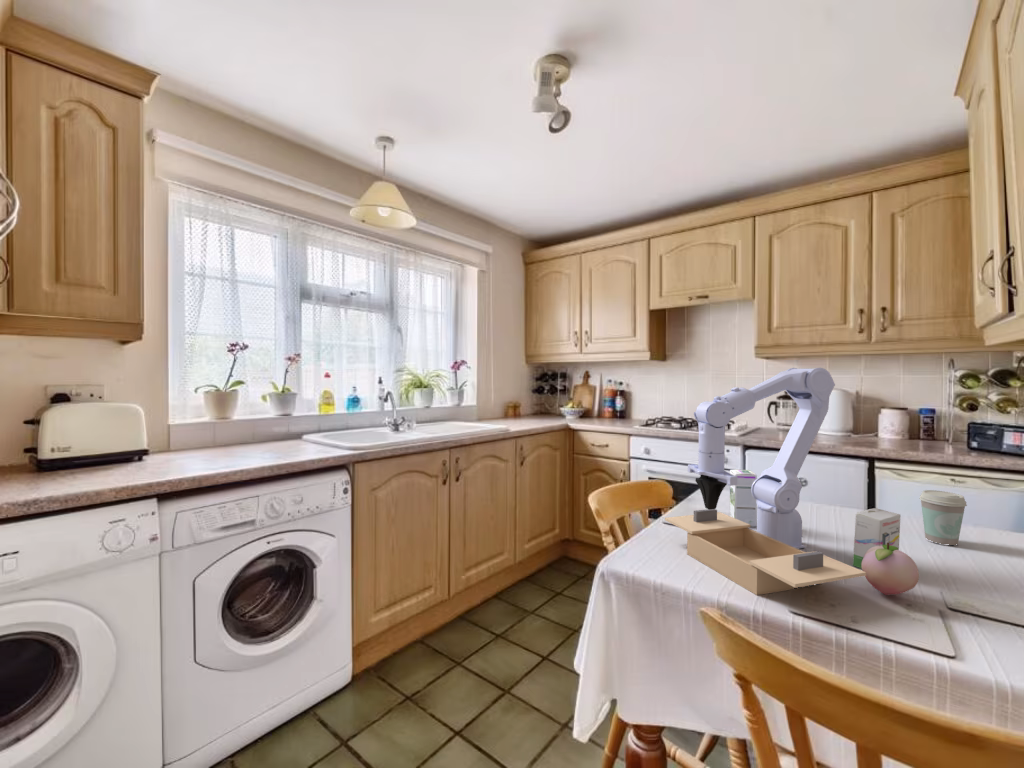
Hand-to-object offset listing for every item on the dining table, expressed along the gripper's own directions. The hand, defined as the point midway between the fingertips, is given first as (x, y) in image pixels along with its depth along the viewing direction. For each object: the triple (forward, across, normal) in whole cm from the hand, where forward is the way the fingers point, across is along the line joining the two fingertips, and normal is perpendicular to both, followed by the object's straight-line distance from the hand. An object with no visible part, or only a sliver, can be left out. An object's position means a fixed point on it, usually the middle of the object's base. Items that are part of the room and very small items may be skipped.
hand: (710, 508), depth 108 cm
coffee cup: (+10, +13, +58) cm, 60 cm away
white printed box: (+10, -12, +21) cm, 26 cm away
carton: (+9, +12, 0) cm, 15 cm away
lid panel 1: (+4, -1, 0) cm, 4 cm away
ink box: (+10, +19, +27) cm, 34 cm away
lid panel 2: (+4, +25, 0) cm, 26 cm away
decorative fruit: (+10, +29, +16) cm, 34 cm away
